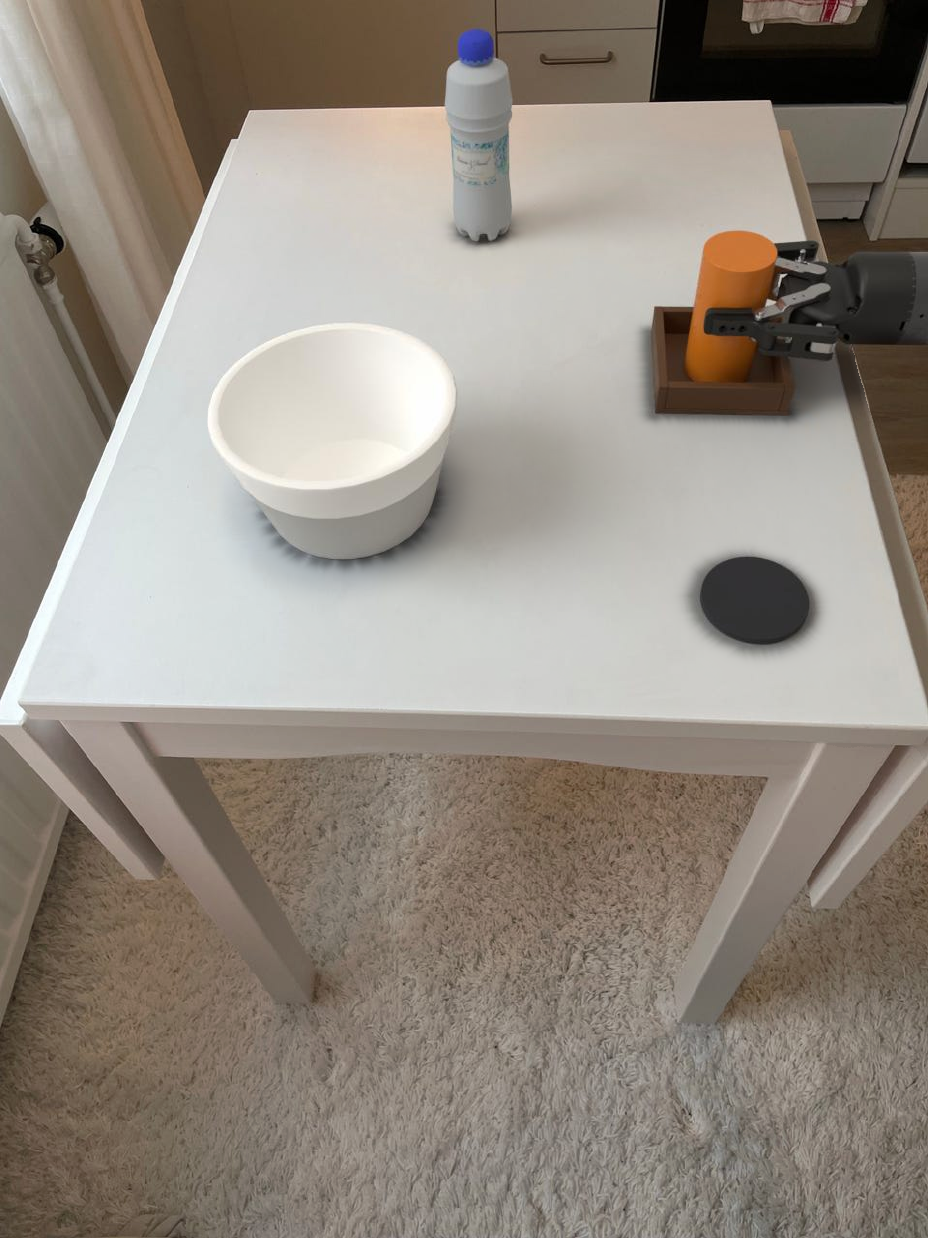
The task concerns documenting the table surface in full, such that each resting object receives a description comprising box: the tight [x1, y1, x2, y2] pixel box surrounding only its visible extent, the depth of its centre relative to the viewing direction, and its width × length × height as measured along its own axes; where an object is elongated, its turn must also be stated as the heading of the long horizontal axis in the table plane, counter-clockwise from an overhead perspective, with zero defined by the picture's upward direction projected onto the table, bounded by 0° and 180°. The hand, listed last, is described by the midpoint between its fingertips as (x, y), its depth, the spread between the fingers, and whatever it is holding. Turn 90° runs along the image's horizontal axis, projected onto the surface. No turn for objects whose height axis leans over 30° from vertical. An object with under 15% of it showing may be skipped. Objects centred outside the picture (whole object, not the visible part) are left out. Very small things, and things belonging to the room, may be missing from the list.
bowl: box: [207, 322, 458, 560], centre depth 77 cm, size 19×19×11 cm
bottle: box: [444, 28, 514, 242], centre depth 97 cm, size 7×7×20 cm
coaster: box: [699, 556, 810, 645], centre depth 73 cm, size 8×8×1 cm
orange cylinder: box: [684, 230, 778, 383], centre depth 84 cm, size 6×6×12 cm
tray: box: [650, 305, 795, 416], centre depth 88 cm, size 12×12×3 cm
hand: (703, 297), depth 83 cm, fingers closed on orange cylinder, 6 cm apart
